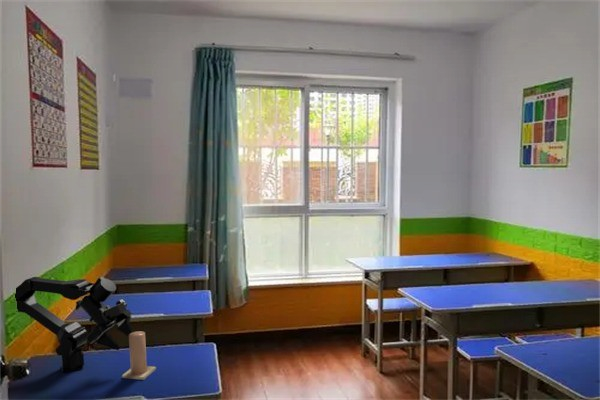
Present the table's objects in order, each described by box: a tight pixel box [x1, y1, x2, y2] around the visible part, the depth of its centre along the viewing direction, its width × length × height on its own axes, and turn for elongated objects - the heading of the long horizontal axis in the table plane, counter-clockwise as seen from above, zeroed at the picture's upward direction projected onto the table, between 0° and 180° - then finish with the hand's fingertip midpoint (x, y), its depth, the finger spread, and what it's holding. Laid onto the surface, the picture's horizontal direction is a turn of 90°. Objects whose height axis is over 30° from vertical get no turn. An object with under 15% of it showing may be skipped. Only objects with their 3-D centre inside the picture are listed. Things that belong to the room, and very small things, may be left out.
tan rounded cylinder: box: [128, 330, 148, 375], centre depth 162 cm, size 5×5×13 cm
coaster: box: [121, 365, 157, 381], centre depth 162 cm, size 8×8×1 cm
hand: (126, 343), depth 162 cm, fingers open, 9 cm apart
